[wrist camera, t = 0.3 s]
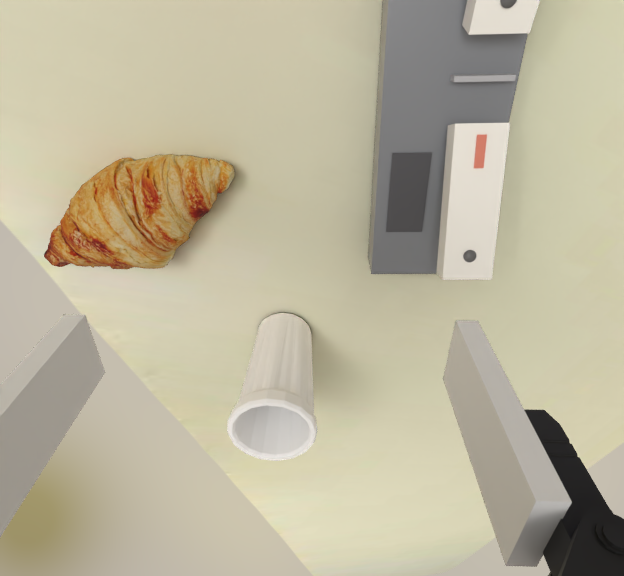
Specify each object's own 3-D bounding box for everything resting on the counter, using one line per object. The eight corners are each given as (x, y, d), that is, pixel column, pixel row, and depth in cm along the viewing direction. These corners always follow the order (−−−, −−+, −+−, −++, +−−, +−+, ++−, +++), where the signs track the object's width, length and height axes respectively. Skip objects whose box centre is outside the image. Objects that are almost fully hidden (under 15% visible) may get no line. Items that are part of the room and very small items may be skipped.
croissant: (226, 125, 41) (183, 98, 33) (267, 221, 41) (234, 217, 33) (60, 217, 46) (-11, 212, 38) (97, 302, 46) (34, 315, 38)
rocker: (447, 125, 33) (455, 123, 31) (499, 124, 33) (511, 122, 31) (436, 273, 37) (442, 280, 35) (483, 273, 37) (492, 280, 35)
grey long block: (396, -239, 26) (408, -284, 22) (563, -246, 25) (606, -293, 22) (368, 256, 44) (372, 279, 40) (465, 256, 44) (479, 278, 40)
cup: (279, 291, 47) (263, 386, 34) (333, 330, 49) (336, 431, 37) (236, 334, 50) (208, 434, 38) (289, 368, 53) (278, 472, 41)
